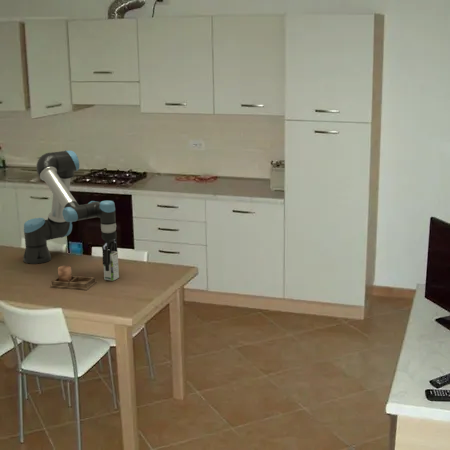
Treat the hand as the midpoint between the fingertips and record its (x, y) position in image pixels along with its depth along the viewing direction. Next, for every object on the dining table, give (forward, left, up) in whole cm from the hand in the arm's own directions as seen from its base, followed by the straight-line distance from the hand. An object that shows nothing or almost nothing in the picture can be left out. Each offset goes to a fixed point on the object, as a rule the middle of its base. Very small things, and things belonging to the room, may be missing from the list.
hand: (111, 274), depth 359 cm
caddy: (+13, -15, -3) cm, 20 cm away
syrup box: (0, 0, -3) cm, 3 cm away
